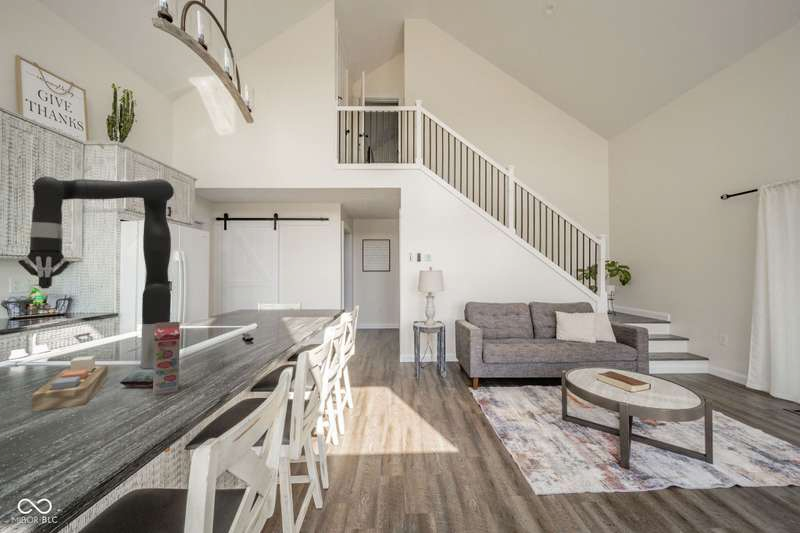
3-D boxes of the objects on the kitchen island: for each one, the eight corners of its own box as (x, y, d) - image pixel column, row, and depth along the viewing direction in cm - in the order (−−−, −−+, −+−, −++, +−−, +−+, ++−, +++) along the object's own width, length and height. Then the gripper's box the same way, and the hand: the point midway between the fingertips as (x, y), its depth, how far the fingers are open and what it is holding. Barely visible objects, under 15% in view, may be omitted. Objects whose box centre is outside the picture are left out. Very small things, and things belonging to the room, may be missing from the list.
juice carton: (153, 388, 111) (155, 321, 112) (177, 385, 115) (179, 320, 116) (152, 395, 106) (154, 324, 106) (178, 391, 110) (180, 322, 110)
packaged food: (137, 380, 119) (137, 366, 119) (171, 380, 120) (172, 366, 120) (117, 389, 111) (118, 374, 111) (155, 389, 111) (155, 374, 111)
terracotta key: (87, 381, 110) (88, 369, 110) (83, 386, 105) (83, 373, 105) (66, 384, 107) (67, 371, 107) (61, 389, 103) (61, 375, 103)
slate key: (80, 389, 103) (80, 376, 103) (74, 394, 98) (75, 381, 99) (57, 392, 100) (57, 378, 100) (50, 397, 96) (51, 383, 96)
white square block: (94, 367, 117) (95, 355, 117) (90, 371, 112) (91, 359, 112) (75, 369, 114) (75, 357, 114) (70, 373, 110) (70, 360, 110)
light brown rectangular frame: (107, 378, 120) (107, 365, 120) (85, 404, 98) (86, 388, 98) (65, 383, 115) (65, 369, 115) (31, 411, 92) (32, 394, 92)
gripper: (76, 239, 121) (75, 287, 121) (24, 236, 115) (22, 287, 114) (69, 237, 115) (67, 288, 114) (13, 234, 108) (11, 289, 108)
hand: (45, 288), depth 114 cm, fingers closed
